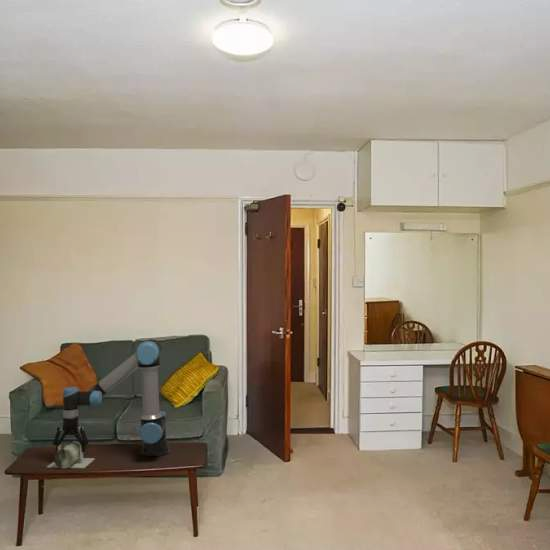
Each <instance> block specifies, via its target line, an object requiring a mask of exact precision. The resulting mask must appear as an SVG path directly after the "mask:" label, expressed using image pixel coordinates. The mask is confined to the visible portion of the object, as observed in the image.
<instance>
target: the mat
mask: <svg viewBox="0 0 550 550" xmlns="http://www.w3.org/2000/svg"><path fill="white" fill-rule="evenodd" d="M94 460H96V458H95V457H93V458H91V457H90V458H89V457H85V458H84V457H83V458H82V459H78V460H77V461H76V462H75V463H73V464H72V465H71V466H70V467H69V468H68V469H85V468H87V467H88V466H89V465H90V464H91V463H92V462H94ZM46 468H51V469H56V468H57V469H60V468H59V467H58V466H57V465H56V464H55V461H54V460H53V462H52V463H50V464H48V465H47V466H46Z"/></svg>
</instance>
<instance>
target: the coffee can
mask: <svg viewBox="0 0 550 550" xmlns="http://www.w3.org/2000/svg"><path fill="white" fill-rule="evenodd" d="M80 446H81V445H80V443H79V442H78V440H77V439H76V440H72V441H70V442H68V443H67V444H66V445H64V446H63V447H62V449H60V450H59V451H56V453H55V454H54V455H53V456H54V458H53V462H54V461H55V464H56V465H57V466H58V467H59V468H58V469H62V470H63V469H65V470H66V469H70V468H69V467H70V466H71V465H72V464H73V463H75V462H76V461H77V460H78V459H80ZM84 454H85V452H83V456H84Z"/></svg>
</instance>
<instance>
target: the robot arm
mask: <svg viewBox="0 0 550 550" xmlns="http://www.w3.org/2000/svg"><path fill="white" fill-rule="evenodd" d="M161 353H162V346H161V344H160V343H159V341H158V340H155V339H152V338H151V339H150V338H149V339H146V340H144V341H143V342H141V343H140V344H139V345H138V346H137V348H136V349H135V351H134V354H132V355H131V356H130V357H128V358H127V359H126V360H125V361H123V362H122V363H121V364H119V365H118V366H117V367H116V368H114V369H113V370H112V371H111V372H110V373H108V374H107V375H106V376H105V377H103V378H102V379H101V380H99V382H97V383H96V384H94V385H92V386H91V387H90V388H89V390H85V391H84V390H81V391H79V388H78V387H77V386H72V387H71V386H69V387H65V388H64V389H63V392H62V393H63V394H62V404H63V405H62V414H63V415H62V417H63V418H62V424H63V426H61V425H58V426H57V428H56V433H55V436H54V439H53V441H52V445H53V446H56V447H55V448H56V450H55V451H56V452H57V451H59V450H60V449H62V448H63V447H62V442H63V441H64V439H65V438H66V436H70V435H71V436H74V437H75V439H76V441H78V442H79V443H80V445H81V446H80V459H82V458H84V455H83V452H84V453H85V451H86V446H87V445H89V443H90V442H89V440H88V436H87V434H86V431H85V426H84V425H82V426H79V406H83V407H84V406H94V407H95V406H100V405H102V402H103V396H105V395H107V393H109V392H110V391H111V390H112V389H114V388H115V387H116V386H117V385H118V384H120V383H121V382H122V381H124V380H125V379H126V378H127V377H129V376H130V375H131V374H133V373H134V372H135V371H136V370H138V369H139V370H140V373H141V375H140V376H141V394H142V395H141V397H142V415H141V416H140V429H139V437H140V440H142V442H143V445H142V448H141V455H142V454H143V455H142V456H144V455H145V456H144V457H147V456H158V457H162V456H161V455H163V456H165V455H164V454H166V455H168V454H169V453H170V446H169V443H168V441H167V424H166V423H167V420H166V419H167V414H166V411H161V410H160V400H159V399H160V397H159V396H160V395H159V377H158V373H159V372H158V368H159V367H160V366H161V358H160V356H161ZM62 431H63V433H62V435H61V432H62ZM60 435H61V436H60ZM168 452H169V453H168ZM167 453H168V454H167Z"/></svg>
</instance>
